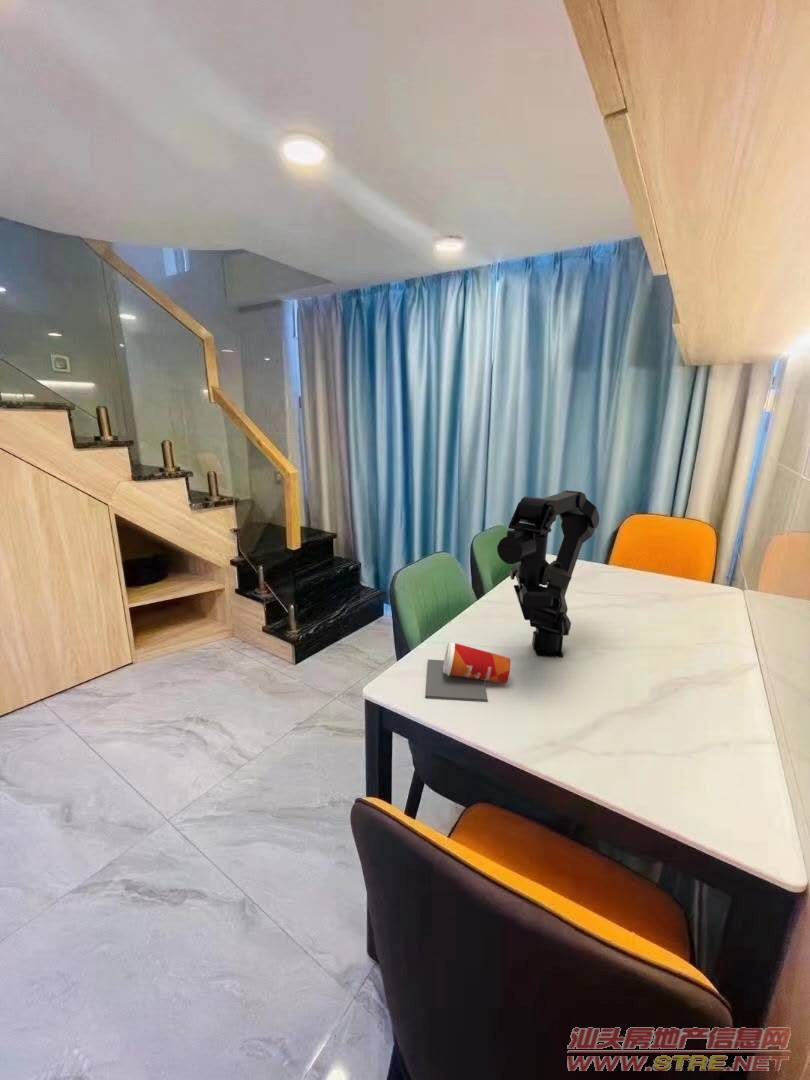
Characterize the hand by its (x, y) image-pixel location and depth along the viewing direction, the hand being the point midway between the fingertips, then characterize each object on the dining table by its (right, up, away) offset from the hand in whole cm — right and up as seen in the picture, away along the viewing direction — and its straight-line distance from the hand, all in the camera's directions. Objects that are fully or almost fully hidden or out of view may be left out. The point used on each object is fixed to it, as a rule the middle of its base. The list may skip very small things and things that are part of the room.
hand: (526, 619), depth 101 cm
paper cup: (-5, -11, -2) cm, 12 cm away
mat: (-17, -14, -1) cm, 21 cm away
